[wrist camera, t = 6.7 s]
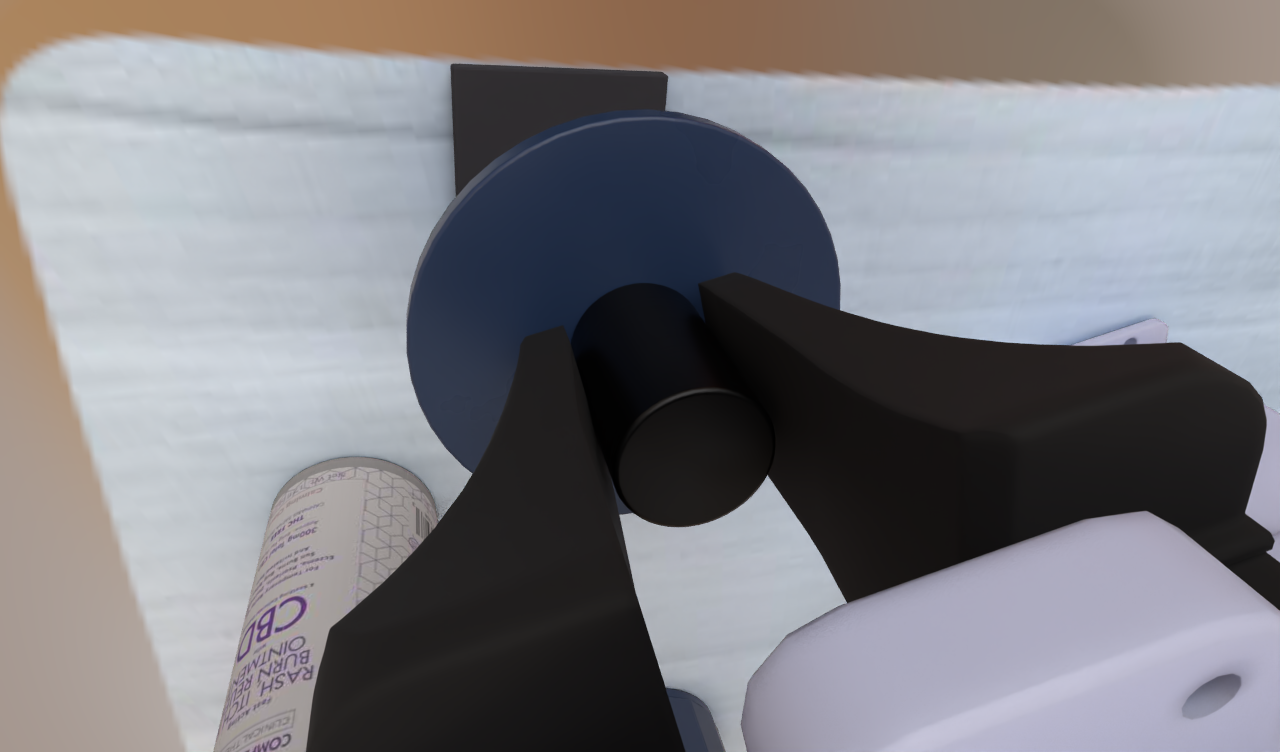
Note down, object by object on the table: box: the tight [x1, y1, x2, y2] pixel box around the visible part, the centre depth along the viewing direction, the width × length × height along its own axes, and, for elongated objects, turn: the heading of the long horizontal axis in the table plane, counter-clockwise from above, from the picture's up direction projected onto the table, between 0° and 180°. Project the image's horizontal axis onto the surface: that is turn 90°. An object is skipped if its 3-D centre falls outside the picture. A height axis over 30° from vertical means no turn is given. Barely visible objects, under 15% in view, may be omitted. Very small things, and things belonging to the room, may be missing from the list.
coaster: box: [451, 64, 668, 197], centre depth 20 cm, size 5×5×1 cm
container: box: [213, 457, 437, 752], centre depth 17 cm, size 5×5×15 cm
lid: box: [407, 109, 840, 527], centre depth 12 cm, size 7×7×4 cm
